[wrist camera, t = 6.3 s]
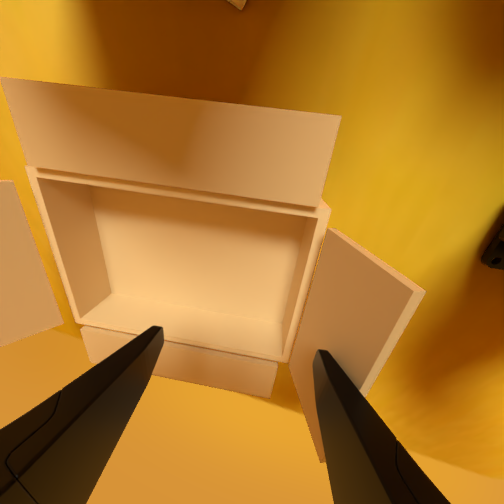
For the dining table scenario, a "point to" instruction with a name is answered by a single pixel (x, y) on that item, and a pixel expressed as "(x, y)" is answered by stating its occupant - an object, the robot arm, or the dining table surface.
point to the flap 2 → (350, 319)
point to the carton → (179, 221)
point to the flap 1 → (21, 275)
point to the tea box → (238, 3)
